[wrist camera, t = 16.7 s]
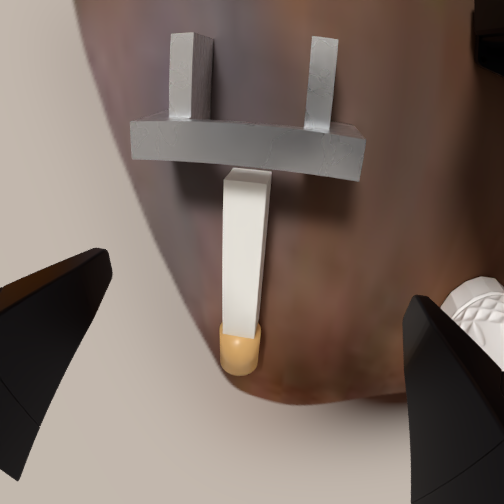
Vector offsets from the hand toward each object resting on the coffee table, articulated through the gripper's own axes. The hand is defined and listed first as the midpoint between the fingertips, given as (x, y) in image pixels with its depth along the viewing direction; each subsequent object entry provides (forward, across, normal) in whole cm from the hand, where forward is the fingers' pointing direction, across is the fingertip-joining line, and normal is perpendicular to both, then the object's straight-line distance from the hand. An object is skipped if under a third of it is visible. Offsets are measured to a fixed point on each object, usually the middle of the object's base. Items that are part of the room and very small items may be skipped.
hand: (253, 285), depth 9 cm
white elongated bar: (+12, +2, +9) cm, 15 cm away
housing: (+12, +2, -4) cm, 13 cm away
